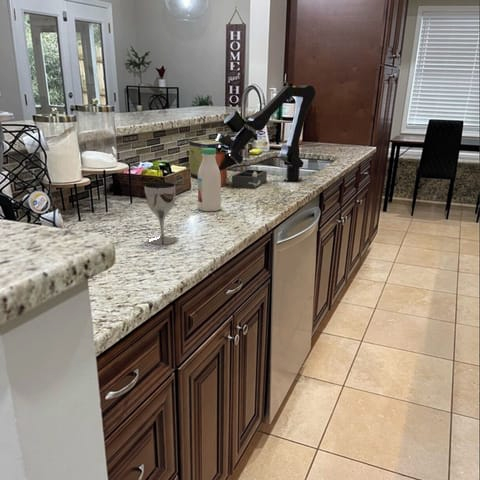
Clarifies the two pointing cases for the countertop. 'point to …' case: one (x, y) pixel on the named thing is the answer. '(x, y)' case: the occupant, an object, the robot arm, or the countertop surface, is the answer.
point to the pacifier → (254, 176)
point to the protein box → (199, 154)
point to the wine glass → (160, 206)
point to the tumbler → (223, 173)
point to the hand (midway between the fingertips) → (215, 169)
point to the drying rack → (248, 178)
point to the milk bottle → (209, 182)
